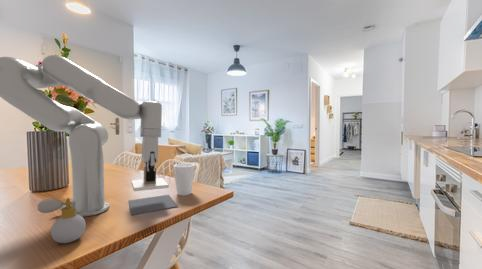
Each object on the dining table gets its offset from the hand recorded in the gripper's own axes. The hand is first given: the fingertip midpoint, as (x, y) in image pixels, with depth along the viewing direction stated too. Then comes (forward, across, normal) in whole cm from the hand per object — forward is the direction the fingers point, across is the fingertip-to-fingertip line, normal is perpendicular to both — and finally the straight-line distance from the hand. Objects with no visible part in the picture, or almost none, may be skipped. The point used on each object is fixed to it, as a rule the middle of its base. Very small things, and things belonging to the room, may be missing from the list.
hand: (149, 179), depth 88 cm
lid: (+2, 0, 0) cm, 2 cm away
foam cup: (+10, -8, +16) cm, 20 cm away
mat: (+10, 0, +1) cm, 10 cm away
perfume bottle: (+11, +19, -24) cm, 32 cm away
